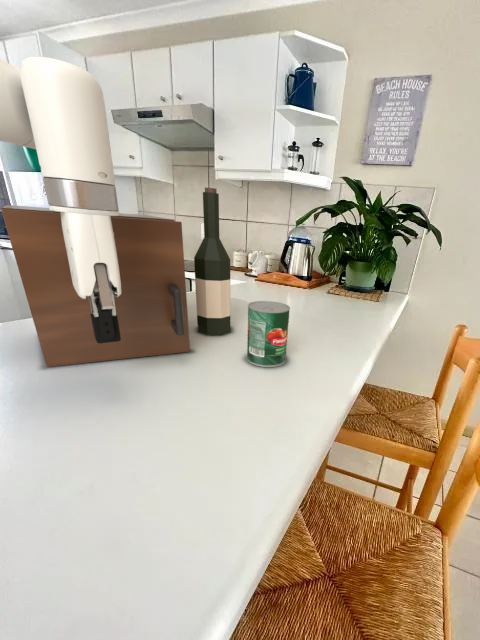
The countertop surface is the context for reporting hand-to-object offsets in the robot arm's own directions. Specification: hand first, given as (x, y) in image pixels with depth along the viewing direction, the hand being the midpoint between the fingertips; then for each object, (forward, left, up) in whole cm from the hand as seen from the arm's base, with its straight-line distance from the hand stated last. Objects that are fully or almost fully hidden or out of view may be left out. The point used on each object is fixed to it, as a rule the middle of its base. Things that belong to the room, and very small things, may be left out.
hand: (108, 340), depth 48 cm
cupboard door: (+3, +8, -7) cm, 11 cm away
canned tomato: (+27, -1, -8) cm, 28 cm away
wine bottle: (+25, +20, -8) cm, 33 cm away
